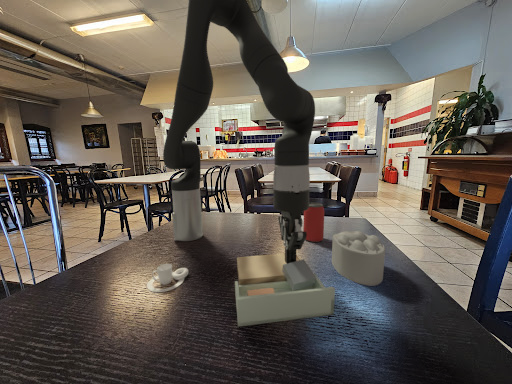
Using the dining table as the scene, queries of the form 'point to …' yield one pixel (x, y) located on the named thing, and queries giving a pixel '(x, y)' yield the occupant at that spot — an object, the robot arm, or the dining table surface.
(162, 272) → the teacup and saucer
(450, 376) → the dining table surface
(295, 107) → the robot arm
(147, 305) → the dining table surface
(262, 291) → the terracotta tile
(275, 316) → the tray
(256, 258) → the board
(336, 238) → the lumpy-topped squat cylinder
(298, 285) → the slate tile
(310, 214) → the beer can
